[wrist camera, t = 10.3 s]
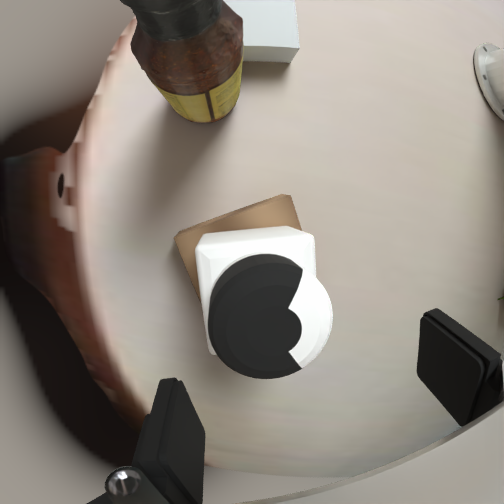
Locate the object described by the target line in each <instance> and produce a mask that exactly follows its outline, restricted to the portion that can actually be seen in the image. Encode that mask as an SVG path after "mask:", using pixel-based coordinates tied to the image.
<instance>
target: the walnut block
mask: <svg viewBox="0 0 504 504" xmlns="http://www.w3.org/2000/svg"><path fill="white" fill-rule="evenodd" d="M277 226H289V227H292V228H295V229H297V230H300V231H302V229H301V226H300V223H299V220H298V217H297V214H296V210H295V207H294V204H293V201H292V198H291V195H284V194H281V195H278V196H275V197H272V198H269V199H266V200H263V201H261V202H258V203H255V204H252V205H249V206H246V207H244V208H241V209H238V210H235V211H232V212H230V213H227V214H224V215H222V216H219V217H216V218H213V219H211V220H208V221H205V222H203V223H200V224H197V225H195V226H192V227H189V228H187V229H184V230H182V231H179V233H178V234H177V235H176V236H175V237H174V239H175V242H176V244H177V247H178V250H179V252H180V254H181V257H182V259H183V262H184V264H185V267H186V269H187V272H188V274H189V276H190V279H191V281H192V283H193V286H194V288H195V291H196V293H197V295H198V298H199V300H200V302H201V296H200V288H199V281H198V273H197V265H196V257H195V248H196V246H197V244H198V242H199V241H200V239H201V237H202V236H203V234H206V233H215V232H225V231H235V230H245V229H256V228H266V227H277ZM201 304H202V303H201Z"/></svg>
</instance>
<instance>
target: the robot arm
mask: <svg viewBox="0 0 504 504" xmlns="http://www.w3.org/2000/svg"><path fill="white" fill-rule="evenodd" d="M474 64H475V70H476V75H477V78H478V82H479V84H480V87H481V89H482V92H483V94H484V96H485V98H486V100H487V101H488V103H489V105H490V106H491V108H492V109H493V111H494V112H495V113H496V114H497V115H498V116H499V117H500V118H501V119H502V120H503V121H504V48H502V49H500V48H498V47H497V46H496V45H494V44H491V43H483V44H481V45H479V46H478V47H477V48H476V51H475V56H474ZM500 356H501V354H500V353H498V352H497V351H496V350H494V349H493V348H492V347H490V346H489V345H488V344H486V343H485V342H484V341H482V340H481V339H480V338H478V337H477V336H476V335H474V334H473V333H472V332H470V331H469V330H467V329H466V328H465V327H463V326H462V325H461V324H459V323H458V322H456V321H455V320H454V319H452V318H451V317H449V316H448V315H447V314H445V313H444V312H442V311H441V310H439V309H437V308H435V309H433V310H430V311H428V312H425V313H424V315H423V317H422V318H421V320H420V337H419V351H418V362H417V375H418V377H419V378H420V380H421V381H422V382H423V383H424V384H425V385H426V386H427V388H428V389H429V390H430V391H431V392H432V393H433V394H434V396H435V397H436V398H437V399H438V400H439V401H440V403H441V404H442V405H443V406H444V407H445V408H446V410H447V411H448V412H449V413H450V414H451V416H452V417H453V418H454V419H455V420H456V422H457V423H458V424H459V425H460V426H464V427H462V428H460V429H458V430H457V431H455V432H453V433H451V434H450V435H448V436H446V437H444V438H442V439H440V440H439V441H437V442H435V443H433V444H431V445H429V446H427V447H425V448H423V449H421V450H418V451H416V452H414V453H412V454H410V455H408V456H405V457H403V458H401V459H399V460H396V461H394V462H392V463H389V464H387V465H384V466H382V467H379V468H376V469H374V470H371V471H368V472H366V473H363V474H360V475H357V476H354V477H351V478H348V479H345V480H342V481H339V482H336V483H332V484H328V485H325V486H321V487H318V488H314V489H310V490H307V491H302V492H298V493H293V494H289V495H284V496H279V497H273V498H268V499H262V500H256V501H250V502H243V503H235V504H504V360H503V361H502V360H501V359H500ZM204 453H205V431H204V428H203V426H202V423H201V421H200V419H199V417H198V415H197V413H196V411H195V408H194V406H193V404H192V402H191V400H190V397H189V395H188V393H187V391H186V388H185V386H184V384H183V382H182V381H178V380H177V379H176V378H167V379H161V380H160V382H159V385H158V389H157V392H156V395H155V399H154V402H153V406H152V410H151V413H150V414H147V415H146V417H145V419H144V422H143V426H142V429H141V433H140V436H139V440H138V444H137V447H136V451H135V454H134V458H133V462H132V465H131V467H130V466H126V467H120V468H118V469H116V470H114V471H113V472H111V473H110V474H109V476H108V477H107V479H106V481H105V490H106V493H104V494H102V495H101V496H99V497H97V498H96V499H94V500H92V501H91V502H89V503H87V504H202V501H203V499H202V498H203V475H204V473H203V472H204Z"/></svg>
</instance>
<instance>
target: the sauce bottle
mask: <svg viewBox="0 0 504 504" xmlns="http://www.w3.org/2000/svg"><path fill="white" fill-rule="evenodd" d="M120 1H121V2H122V3H123V4H125V5H127V6H129V7H131V9H132V10H133V13H134V14H135V15H136V19H137V26H136V30H135V33H134V35H133V37H132V41H131V50H132V53H133V54H134V56H135V57H136V59H137V61H138V63H139V64H140V66H141V69H143V70H144V71H145V72H146V74H147V76H148V78H149V79H150V80H151V82H152V83H153V84H154V85H155V86H156V88H157V89H158V90H159V91H160V92H161V94H162V95H163V96H164V97H165V98H166V100H167V101H168V102H169V103H170V105H171V106H172V107H173V108H174V110H175V111H176V112H177V113H178V114H180V115H181V116H182V117H184V118H186V119H188V120H189V121H191V122H199V123H205V122H206V123H207V122H215V121H218V120H220V119H221V118H223V117H224V116H226V115H227V114H228V113H229V112H230V111H231V109H232V108H233V107H234V106H235V104H236V102H237V99H238V97H239V93H240V84H241V73H242V62H243V53H244V43H243V18H242V17H240V16H239V15H238V14H236V13H235V12H234V11H233V10H232V9H231V8H230V7H229V6H228V5H227V4H226V3H225V2H224V1H223V0H120Z"/></svg>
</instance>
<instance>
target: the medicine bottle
mask: <svg viewBox="0 0 504 504" xmlns="http://www.w3.org/2000/svg"><path fill="white" fill-rule="evenodd" d="M195 257H196V265H197V273H198V281H199V288H200V296H201V303H202V310H203V317H204V324H205V331H206V337H207V343H208V350H209V352H210V353H211V354H212V355H218V357H219V358H220V359H221V360H222V361H223V362H224V363H225V364H226V365H227V366H228V367H230V368H231V369H232V370H234V371H236V372H238V373H240V374H242V375H245V376H248V377H252V378H259V379H273V378H280V377H284V376H287V375H290V374H292V373H295V372H297V371H299V370H301V369H302V368H304V367H305V366H307V365H308V364H309V363H310V362H312V361H313V360H314V359H315V358H316V357H317V356H318V354H319V353H320V352H321V351H322V349H323V347H324V346H325V344H326V342H327V340H328V338H329V335H330V332H331V328H332V321H333V313H332V305H331V302H330V299H329V296H328V294H327V292H326V290H325V289H324V287H323V286H322V284H321V283H320V282H319V281H318V280H317V279H316V261H315V242H314V237H313V236H312V235H311V234H309V233H306V232H303V231H300V230H297V229H295V228H292V227H289V226H277V227H266V228H256V229H245V230H235V231H225V232H215V233H206V234H203V236H202V237H201V239H200V241H199V242H198V244H197V246H196V248H195Z"/></svg>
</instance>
